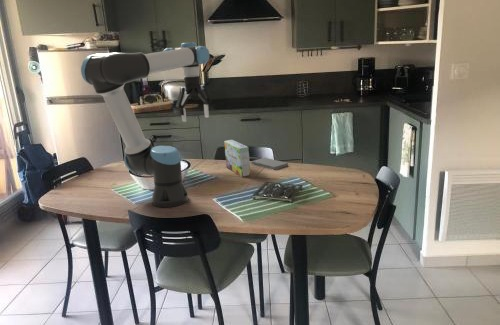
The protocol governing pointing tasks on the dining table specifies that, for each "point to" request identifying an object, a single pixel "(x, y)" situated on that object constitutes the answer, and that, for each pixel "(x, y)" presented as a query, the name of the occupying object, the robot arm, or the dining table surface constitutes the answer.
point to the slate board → (269, 163)
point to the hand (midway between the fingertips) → (195, 119)
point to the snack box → (237, 158)
